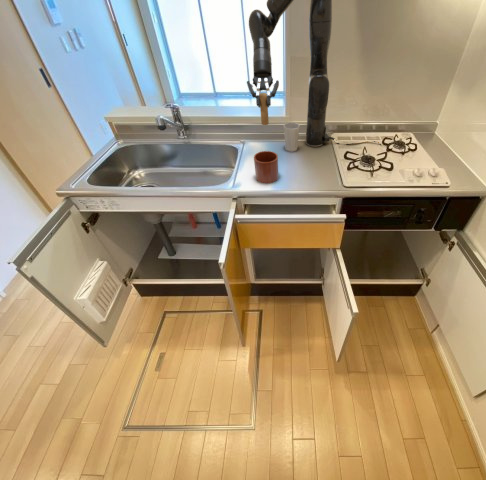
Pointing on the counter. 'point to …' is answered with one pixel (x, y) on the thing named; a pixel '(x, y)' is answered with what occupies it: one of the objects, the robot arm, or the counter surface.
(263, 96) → the utensil
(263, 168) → the crock
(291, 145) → the cup
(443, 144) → the counter surface
